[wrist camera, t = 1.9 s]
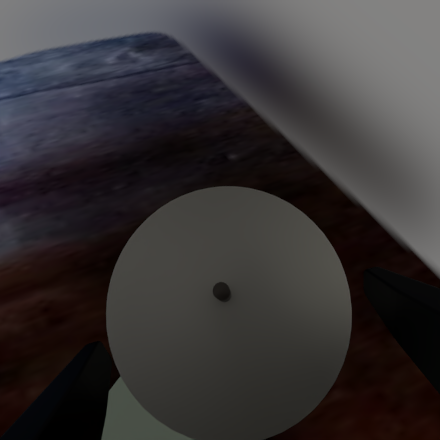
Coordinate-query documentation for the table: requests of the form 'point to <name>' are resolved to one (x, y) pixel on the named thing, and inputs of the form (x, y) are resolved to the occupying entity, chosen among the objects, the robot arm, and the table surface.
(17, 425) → the robot arm
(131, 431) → the stand
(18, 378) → the table surface
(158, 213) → the candle
